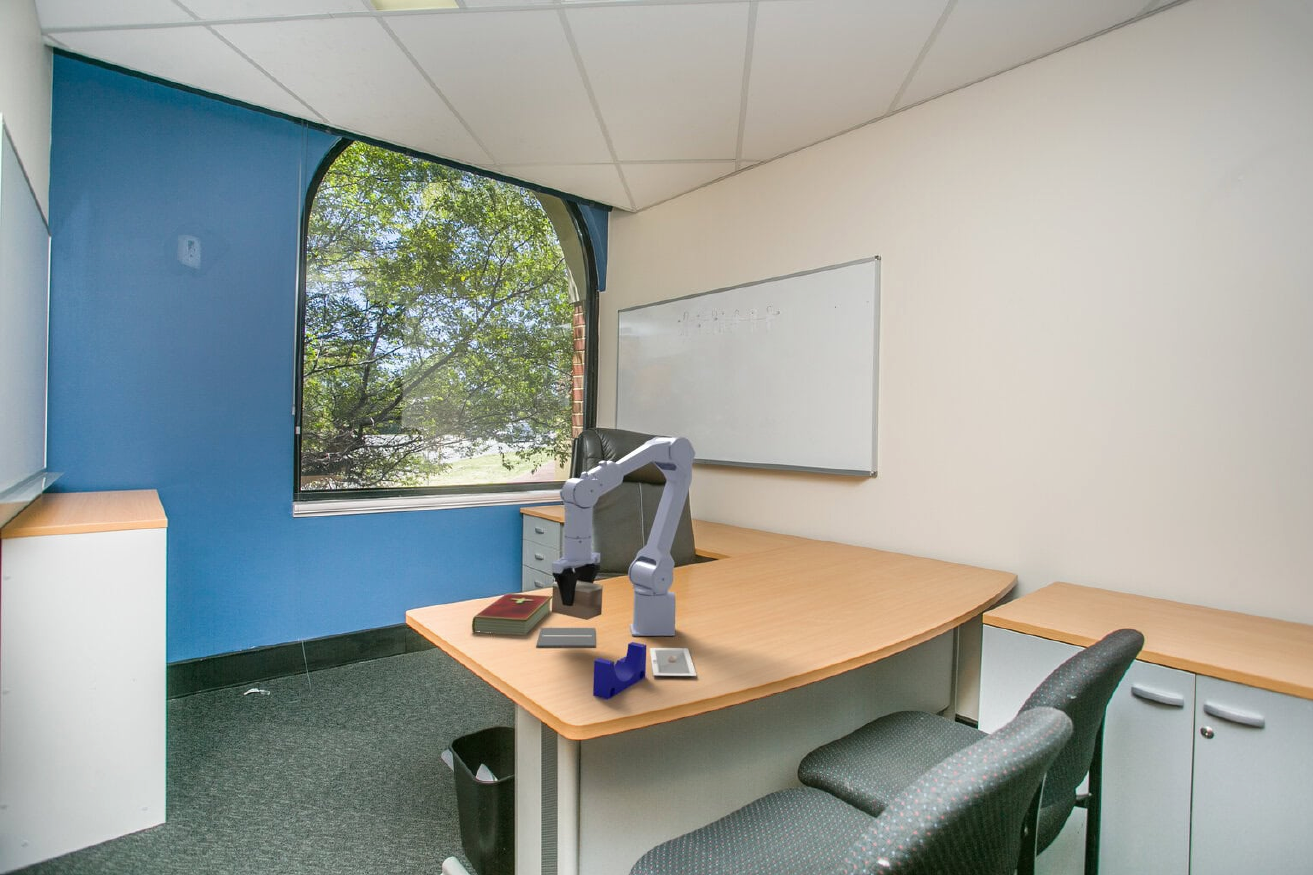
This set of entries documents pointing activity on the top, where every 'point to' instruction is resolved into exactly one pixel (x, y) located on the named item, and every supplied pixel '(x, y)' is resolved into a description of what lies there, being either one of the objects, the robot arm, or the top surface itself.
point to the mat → (566, 637)
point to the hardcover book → (512, 614)
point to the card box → (580, 601)
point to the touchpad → (672, 662)
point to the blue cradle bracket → (619, 672)
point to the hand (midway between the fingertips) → (575, 602)
